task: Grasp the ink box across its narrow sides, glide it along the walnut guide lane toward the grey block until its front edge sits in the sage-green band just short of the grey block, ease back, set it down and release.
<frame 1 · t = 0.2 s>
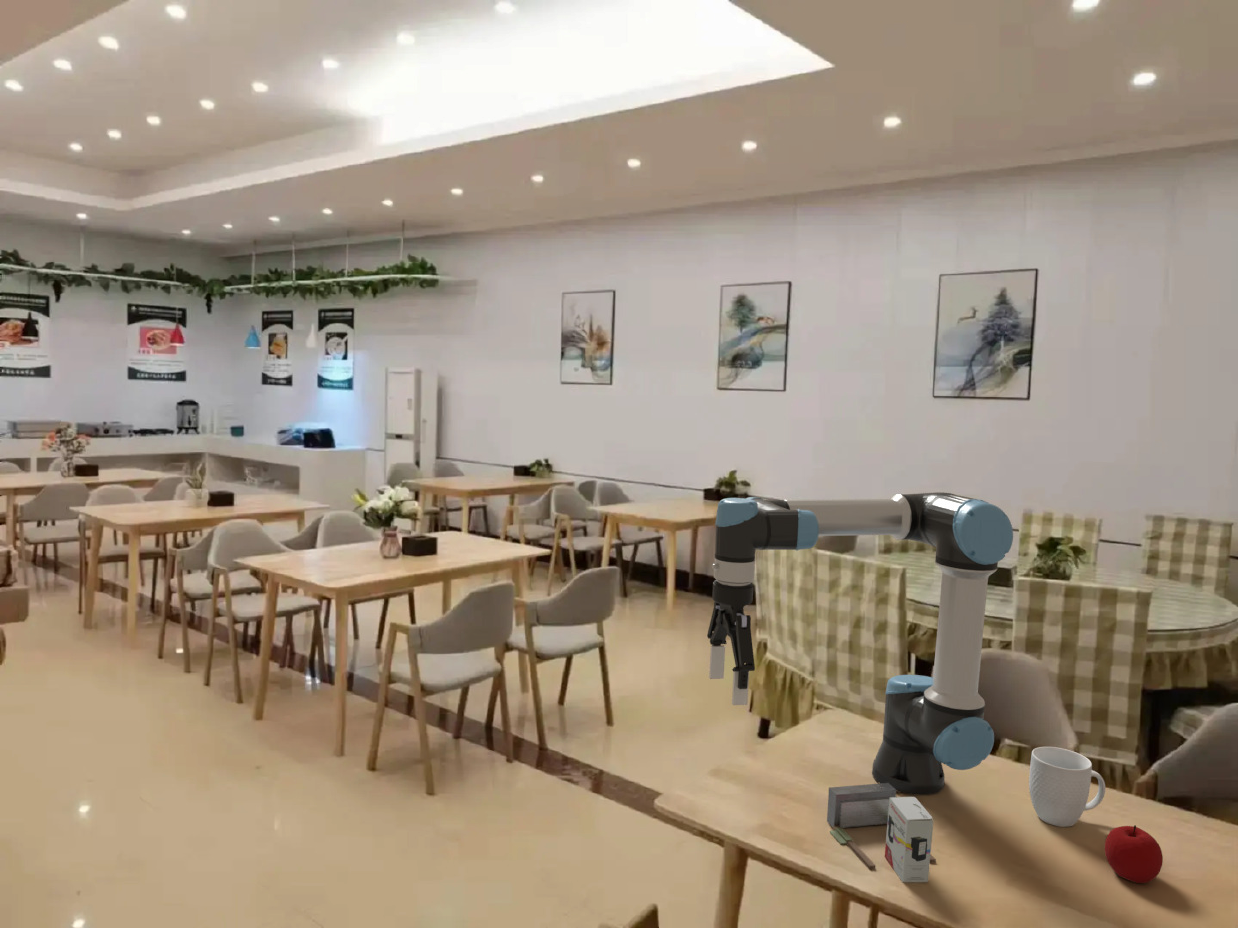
hand: (727, 690, 165), 28 cm above the table, fingers open, 13 cm apart
lane: (882, 845, 165), on the table
apple: (1130, 877, 158), on the table
grey block: (860, 822, 173), on the table
ink box: (905, 870, 157), on the table
mug: (1060, 820, 178), on the table
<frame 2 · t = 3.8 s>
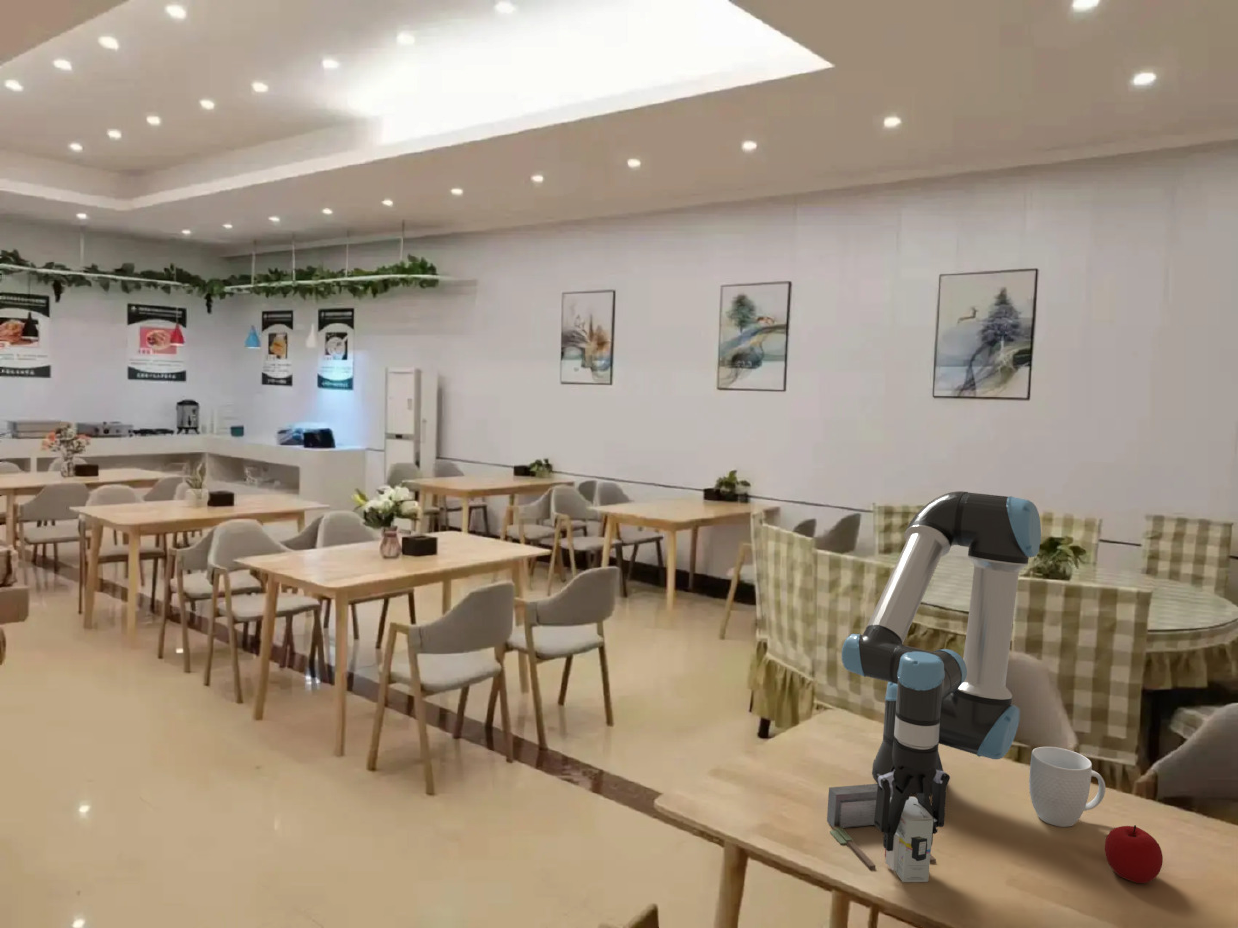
hand: (906, 864, 157), 1 cm above the table, fingers closed on ink box, 5 cm apart
ink box: (905, 870, 157), on the table, touching gripper
everything else where it was.
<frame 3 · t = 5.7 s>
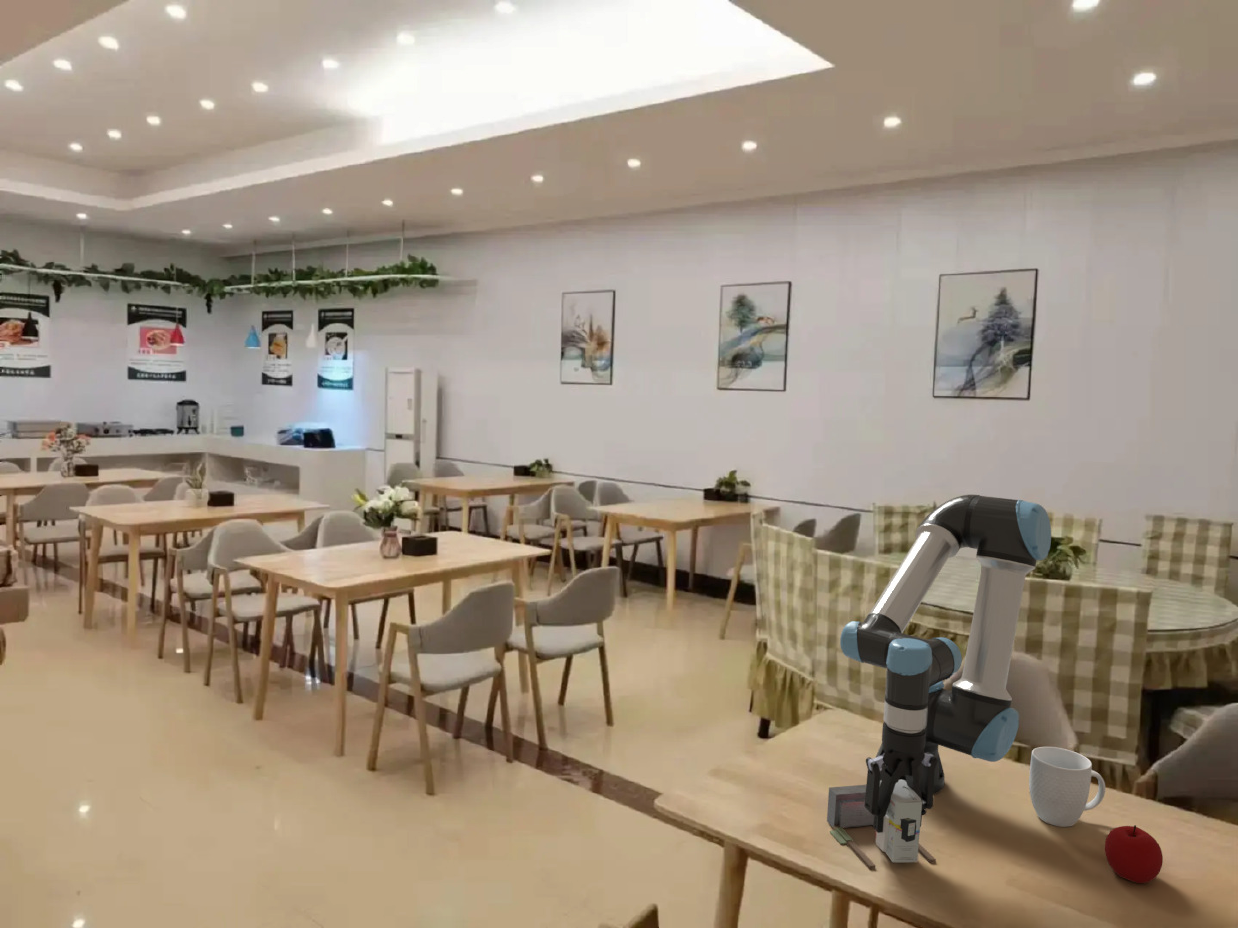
hand: (895, 845, 161), 2 cm above the table, fingers closed on ink box, 5 cm apart
ink box: (895, 850, 161), point 1 cm above the table, touching gripper
everything else where it was.
when the fingers open (2 cm above the table, at t = 7.5 s): ink box stays where it is, on the table.
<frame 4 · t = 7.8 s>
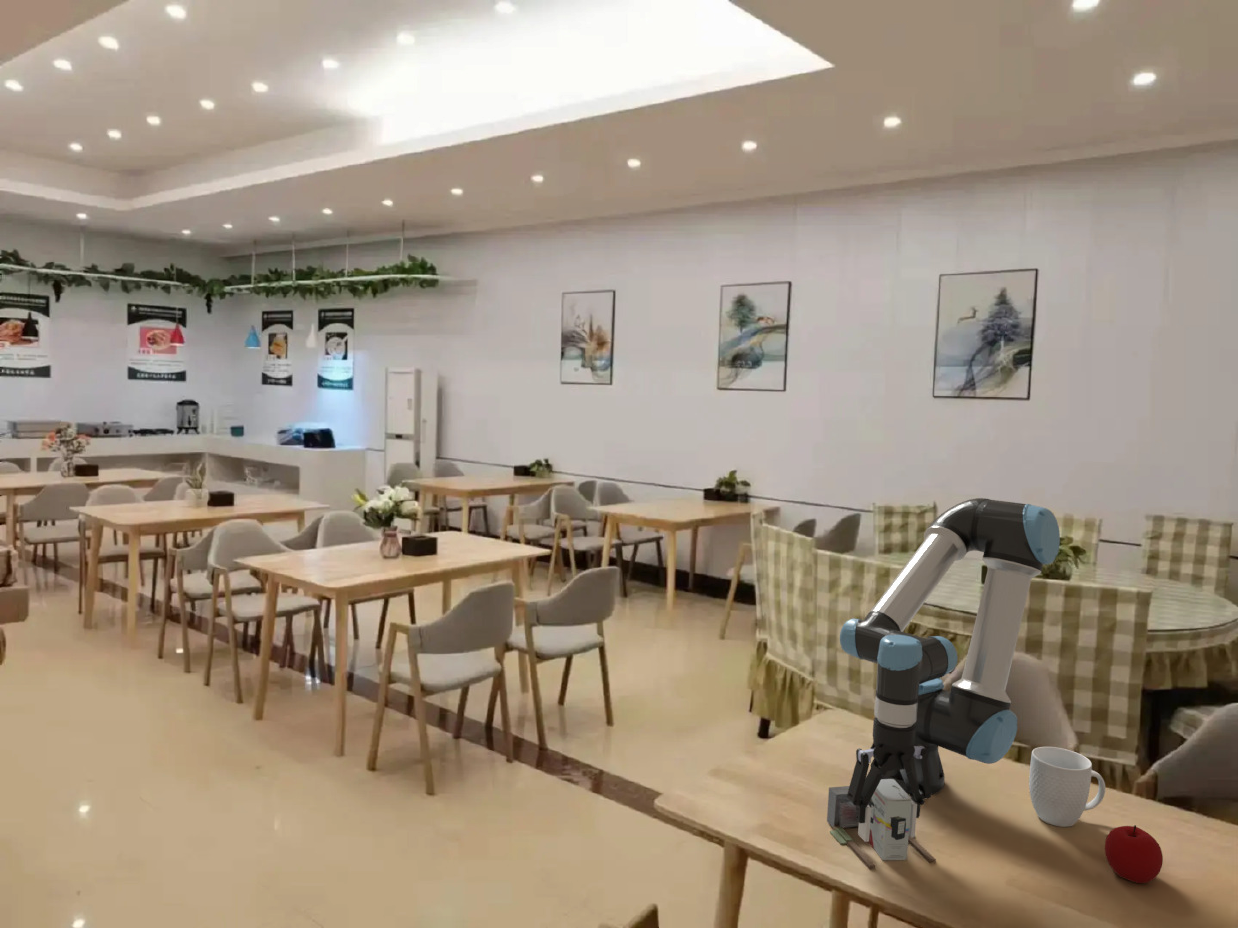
hand: (886, 835, 164), 2 cm above the table, fingers open, 9 cm apart
ink box: (885, 849, 164), on the table
everything else where it was.
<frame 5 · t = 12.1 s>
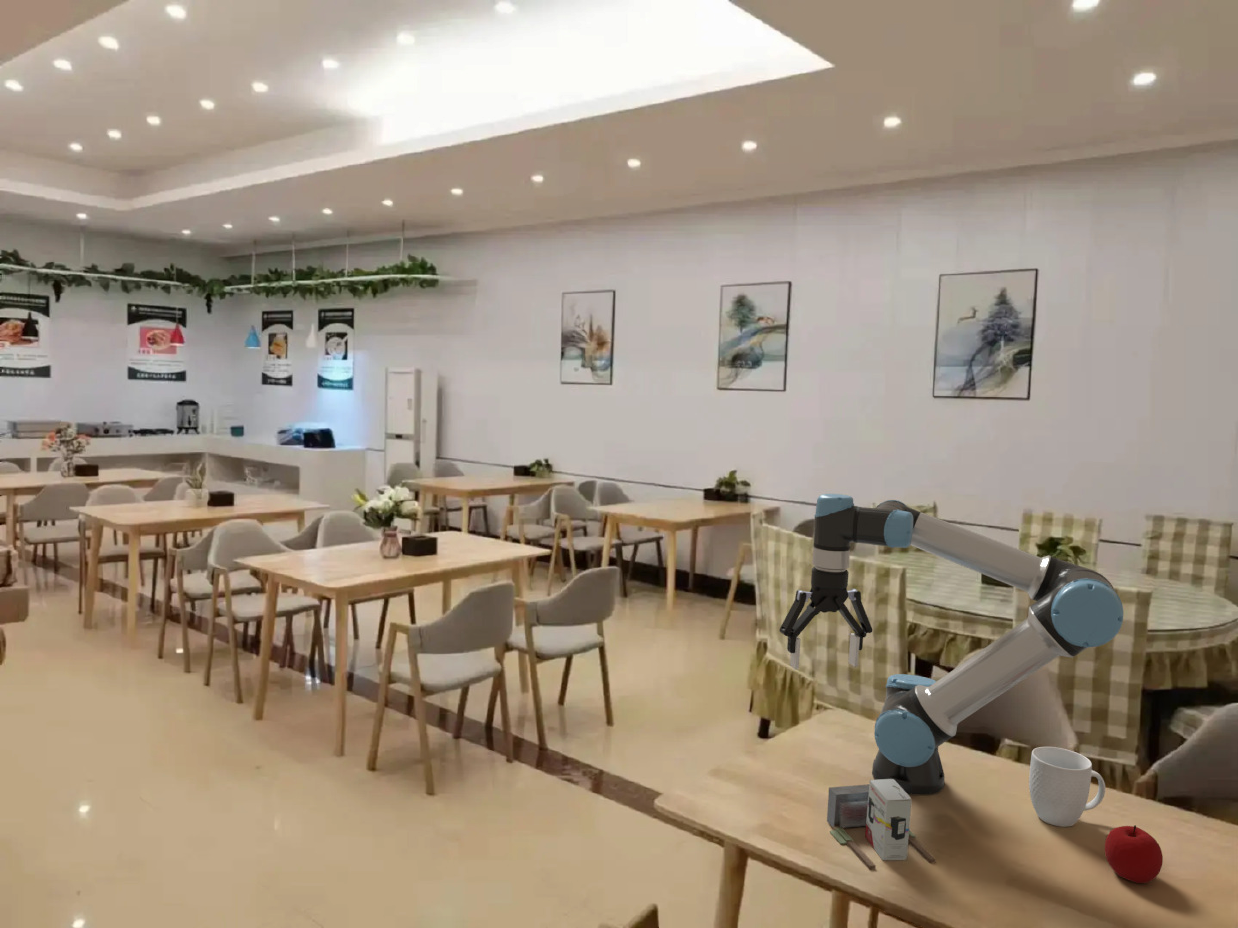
hand: (823, 666, 185), 27 cm above the table, fingers open, 13 cm apart
nothing on the table moved.
at the end: ink box inside the target area (0.2 cm from its centre), on the table; ink box touching table; ink box tilted 0° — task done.
